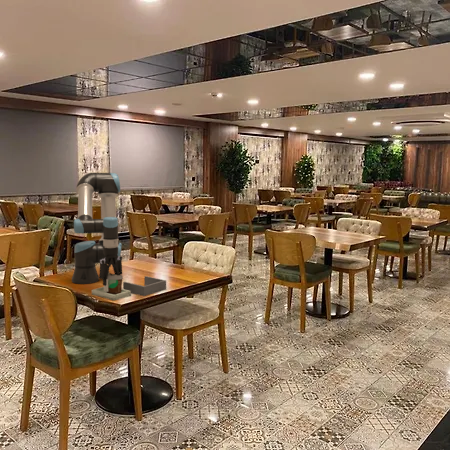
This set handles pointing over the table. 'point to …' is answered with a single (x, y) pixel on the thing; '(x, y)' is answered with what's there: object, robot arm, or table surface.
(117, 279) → the food container
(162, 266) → the table surface
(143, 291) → the bay
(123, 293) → the tray
